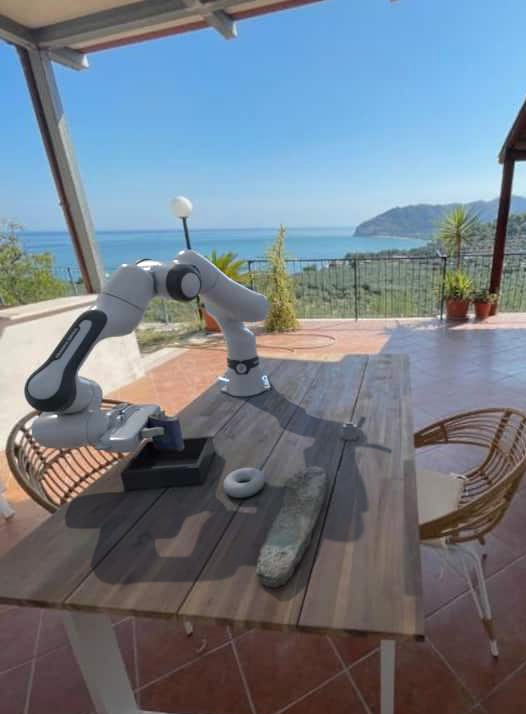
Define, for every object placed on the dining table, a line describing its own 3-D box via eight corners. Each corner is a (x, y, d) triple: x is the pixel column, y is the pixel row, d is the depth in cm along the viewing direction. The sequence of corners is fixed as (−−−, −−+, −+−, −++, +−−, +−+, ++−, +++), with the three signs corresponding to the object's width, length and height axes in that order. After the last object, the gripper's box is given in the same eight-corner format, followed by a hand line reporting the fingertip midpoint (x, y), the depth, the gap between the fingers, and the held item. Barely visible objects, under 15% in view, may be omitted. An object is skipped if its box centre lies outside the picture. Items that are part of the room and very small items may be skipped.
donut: (216, 498, 92) (255, 503, 90) (213, 486, 91) (253, 490, 89) (236, 474, 101) (272, 478, 99) (234, 463, 100) (271, 466, 98)
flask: (186, 448, 101) (179, 410, 97) (178, 453, 98) (170, 415, 94) (158, 442, 103) (150, 405, 100) (150, 447, 101) (141, 410, 97)
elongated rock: (242, 591, 69) (297, 599, 68) (240, 570, 67) (296, 578, 66) (296, 471, 101) (334, 476, 100) (296, 454, 99) (334, 459, 98)
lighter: (343, 439, 118) (342, 415, 115) (343, 436, 120) (343, 413, 117) (366, 439, 118) (366, 416, 115) (366, 437, 120) (366, 413, 117)
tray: (148, 456, 109) (144, 440, 108) (214, 451, 112) (212, 436, 110) (124, 490, 95) (120, 473, 93) (201, 484, 97) (198, 467, 95)
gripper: (84, 437, 86) (150, 433, 88) (123, 400, 105) (177, 398, 107) (91, 461, 88) (156, 457, 90) (128, 421, 107) (181, 418, 109)
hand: (167, 425), depth 99 cm, fingers closed on flask, 4 cm apart
